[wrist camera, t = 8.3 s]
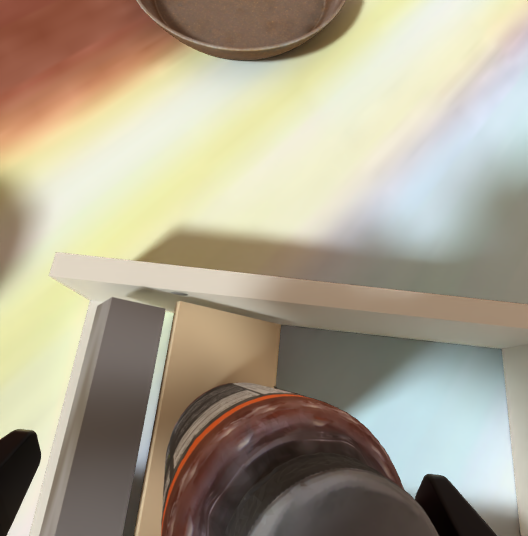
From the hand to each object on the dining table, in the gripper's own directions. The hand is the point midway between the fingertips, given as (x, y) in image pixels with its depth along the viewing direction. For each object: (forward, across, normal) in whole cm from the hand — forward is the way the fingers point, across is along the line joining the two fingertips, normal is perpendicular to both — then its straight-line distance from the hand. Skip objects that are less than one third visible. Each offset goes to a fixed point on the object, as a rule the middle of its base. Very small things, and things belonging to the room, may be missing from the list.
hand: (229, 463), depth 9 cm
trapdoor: (+7, +4, +8) cm, 12 cm away
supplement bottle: (+6, 0, +7) cm, 9 cm away
